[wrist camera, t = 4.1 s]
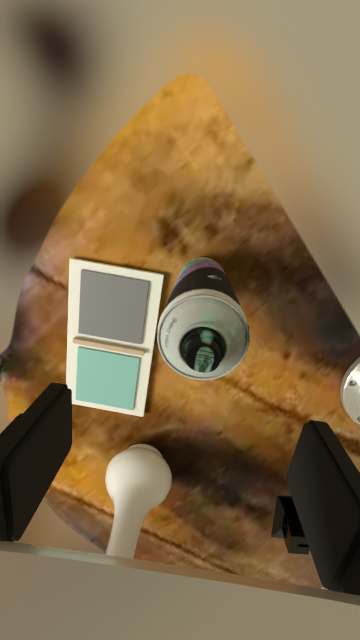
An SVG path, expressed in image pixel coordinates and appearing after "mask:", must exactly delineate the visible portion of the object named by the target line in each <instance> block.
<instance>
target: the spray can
mask: <svg viewBox="0 0 360 640" xmlns="http://www.w3.org/2000/svg"><path fill="white" fill-rule="evenodd" d="M157 341H158V348H159V350H160V353H161V355H162V357H163V359H164V360H165V362H166V363H167V364H168V365H169V366H170V367H171V368H172V369H173V370H174V371H176V372H177V373H179V374H181V375H183V376H185V377H188V378H191V379H196V380H212V379H216V378H220V377H222V376H224V375H227V374H228V373H230V372H231V371H233V370H234V369H235V368H236V367H237V366H238V365H239V364H240V363H241V362H242V360H243V359H244V357H245V355H246V353H247V350H248V346H249V326H248V322H247V318H246V316H245V314H244V312H243V310H242V308H241V306H240V304H239V302H238V300H237V297H236V295H235V293H234V291H233V289H232V287H231V285H230V283H229V281H228V279H227V276H226V274H225V272H224V270H223V268H222V267H221V266H220V264H218V263H217V262H216V261H214V260H212V259H210V258H205V257H200V258H195V259H193V260H191V261H189V262H188V263H187V264H186V265H185V266H184V267H183V268H182V270H181V272H180V274H179V276H178V279H177V281H176V283H175V285H174V288H173V290H172V292H171V295H170V297H169V299H168V301H167V304H166V306H165V308H164V310H163V313H162V315H161V317H160V321H159V324H158V335H157Z"/></svg>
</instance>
